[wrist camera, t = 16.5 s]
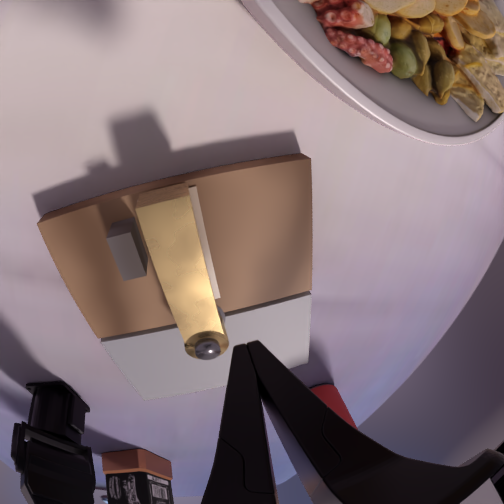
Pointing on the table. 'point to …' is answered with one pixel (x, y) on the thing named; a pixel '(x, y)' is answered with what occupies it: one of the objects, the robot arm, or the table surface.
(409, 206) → the table surface
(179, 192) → the swing bar
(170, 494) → the whiskey bottle
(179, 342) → the board
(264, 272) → the door board
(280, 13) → the bowl
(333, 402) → the beer can
